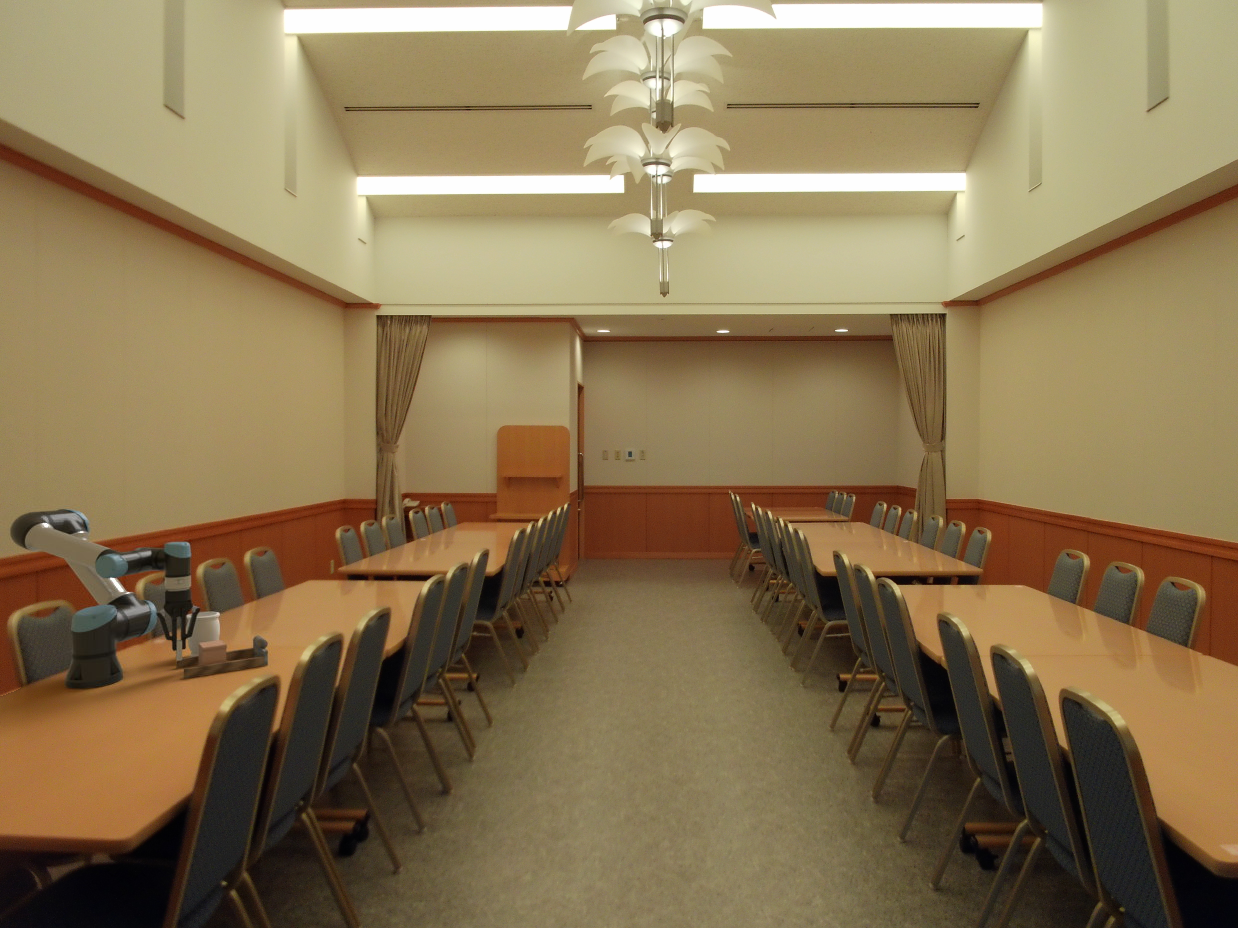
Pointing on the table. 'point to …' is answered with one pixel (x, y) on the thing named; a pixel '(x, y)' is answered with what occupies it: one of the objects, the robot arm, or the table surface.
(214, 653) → the pink block
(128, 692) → the table surface
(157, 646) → the table surface
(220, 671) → the bay
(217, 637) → the jar
